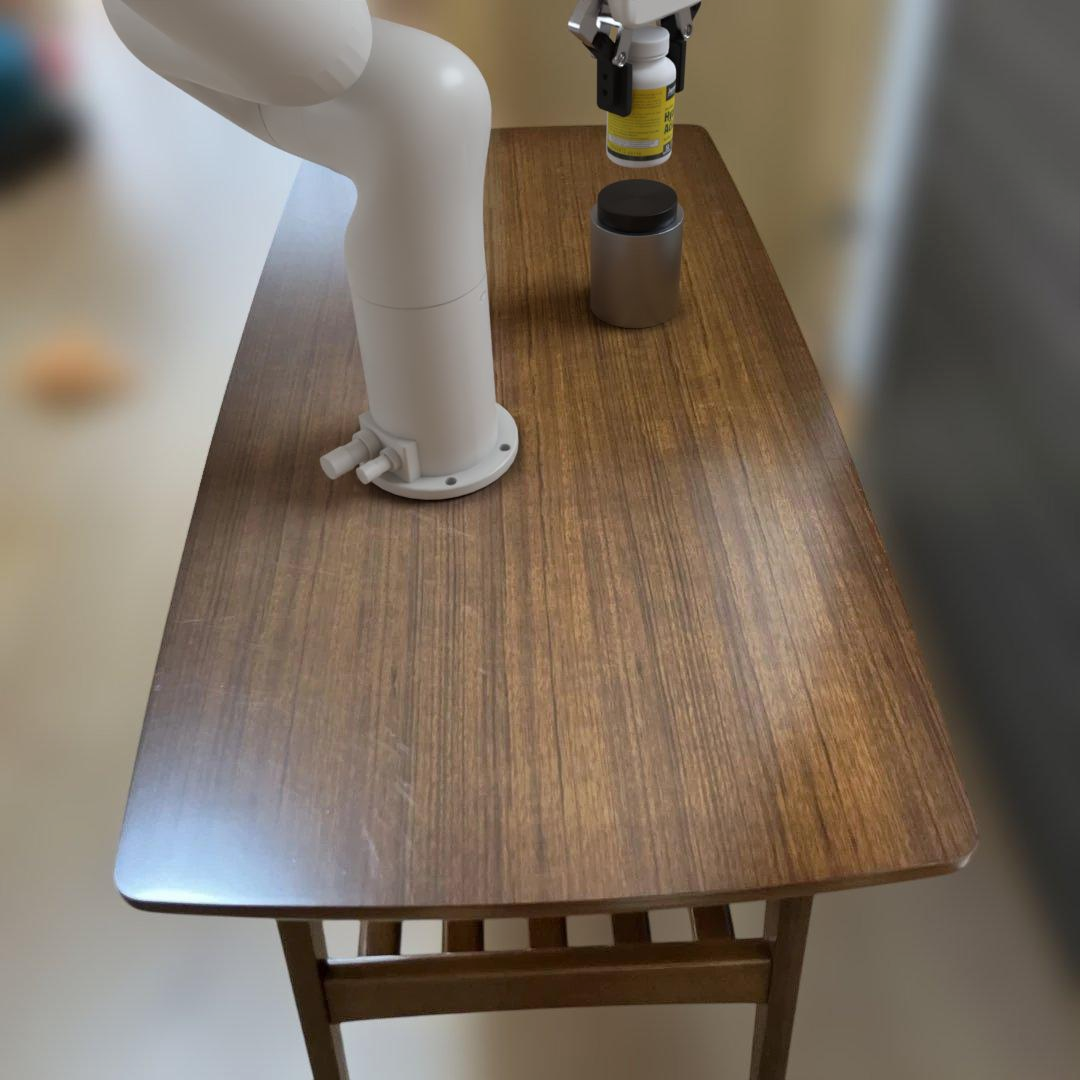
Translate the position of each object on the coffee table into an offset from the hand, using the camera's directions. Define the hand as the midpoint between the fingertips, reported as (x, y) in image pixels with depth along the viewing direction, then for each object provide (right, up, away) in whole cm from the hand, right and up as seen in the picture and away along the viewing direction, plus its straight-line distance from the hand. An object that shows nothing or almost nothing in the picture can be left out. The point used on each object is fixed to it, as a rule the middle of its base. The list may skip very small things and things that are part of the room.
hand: (640, 97), depth 89 cm
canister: (+1, -14, +13) cm, 19 cm away
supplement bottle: (0, -4, +3) cm, 5 cm away
